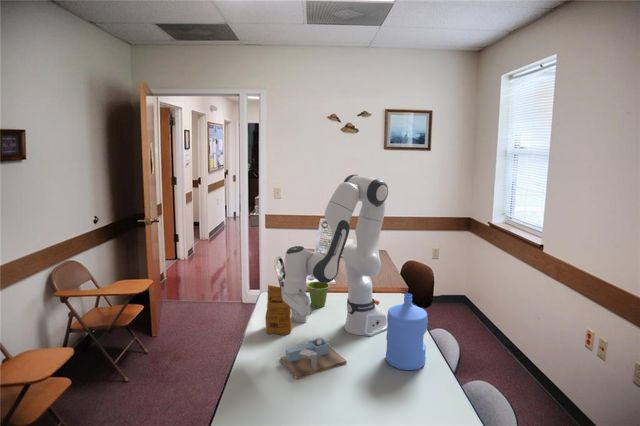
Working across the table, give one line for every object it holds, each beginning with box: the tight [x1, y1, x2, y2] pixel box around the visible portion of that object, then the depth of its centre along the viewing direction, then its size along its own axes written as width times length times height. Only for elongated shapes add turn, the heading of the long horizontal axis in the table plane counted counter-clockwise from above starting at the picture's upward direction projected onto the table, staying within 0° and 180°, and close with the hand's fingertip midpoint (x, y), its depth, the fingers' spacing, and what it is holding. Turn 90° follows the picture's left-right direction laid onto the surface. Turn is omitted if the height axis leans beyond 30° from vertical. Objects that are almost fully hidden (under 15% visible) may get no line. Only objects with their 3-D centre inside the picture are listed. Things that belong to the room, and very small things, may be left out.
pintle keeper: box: [299, 337, 322, 369], centre depth 171 cm, size 16×6×6 cm, turn 157°
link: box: [285, 337, 330, 362], centre depth 175 cm, size 17×6×4 cm, turn 119°
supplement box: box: [291, 292, 310, 324], centre depth 210 cm, size 7×7×13 cm
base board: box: [279, 345, 347, 379], centre depth 172 cm, size 22×15×1 cm
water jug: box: [385, 293, 428, 371], centre depth 171 cm, size 16×16×28 cm
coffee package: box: [265, 284, 293, 336], centre depth 198 cm, size 10×12×22 cm
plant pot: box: [306, 281, 330, 309], centre depth 227 cm, size 12×12×11 cm
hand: (295, 318), depth 178 cm, fingers closed
